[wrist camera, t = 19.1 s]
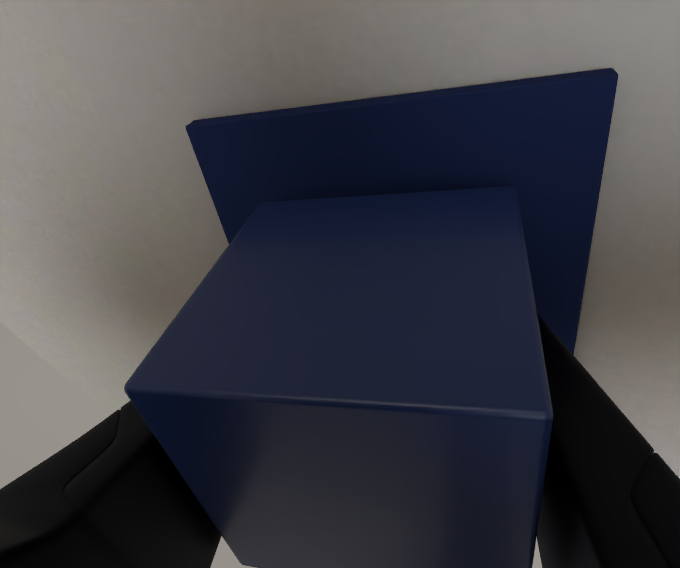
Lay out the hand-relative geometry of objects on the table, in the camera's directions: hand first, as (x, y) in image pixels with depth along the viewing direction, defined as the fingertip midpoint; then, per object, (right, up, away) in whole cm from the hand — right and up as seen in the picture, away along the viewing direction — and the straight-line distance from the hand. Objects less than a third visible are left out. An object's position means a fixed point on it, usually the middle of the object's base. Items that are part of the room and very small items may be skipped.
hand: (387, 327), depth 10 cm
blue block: (0, +1, +1) cm, 1 cm away
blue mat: (0, +1, +2) cm, 2 cm away
